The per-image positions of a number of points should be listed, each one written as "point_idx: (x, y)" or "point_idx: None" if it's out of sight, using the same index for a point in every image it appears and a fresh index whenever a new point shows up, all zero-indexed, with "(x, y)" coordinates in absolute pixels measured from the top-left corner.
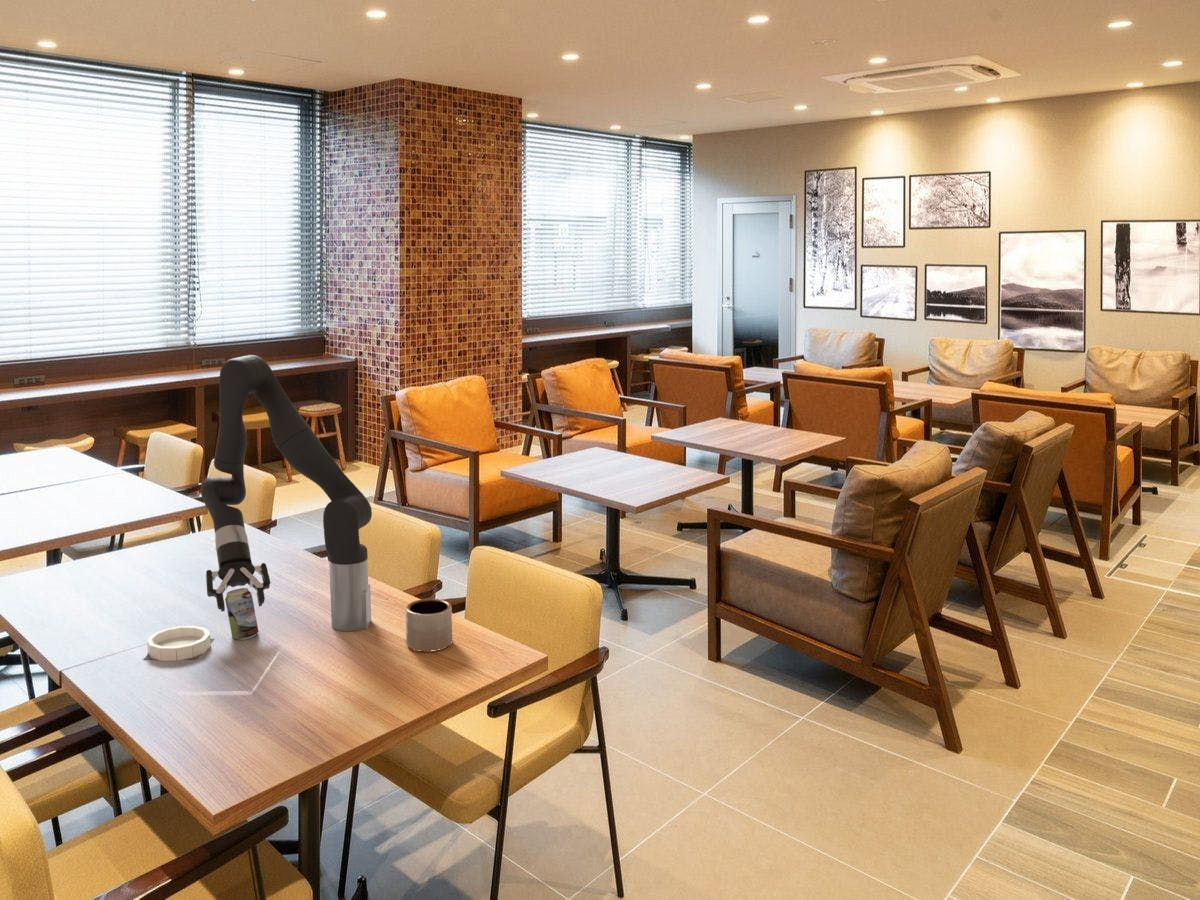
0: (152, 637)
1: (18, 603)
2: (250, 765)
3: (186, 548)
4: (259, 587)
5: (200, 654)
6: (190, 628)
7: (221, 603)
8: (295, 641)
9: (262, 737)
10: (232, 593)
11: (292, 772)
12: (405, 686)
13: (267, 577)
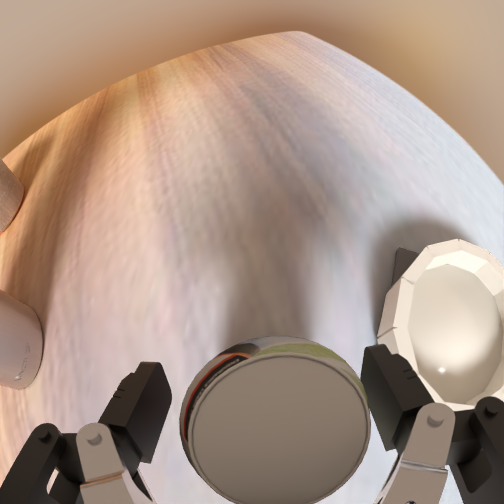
0: None
1: None
2: (276, 43)
3: None
4: (105, 427)
5: (397, 279)
6: (451, 404)
7: (391, 358)
8: (129, 304)
9: (263, 58)
10: (328, 408)
11: (245, 39)
12: (92, 115)
13: (24, 459)
